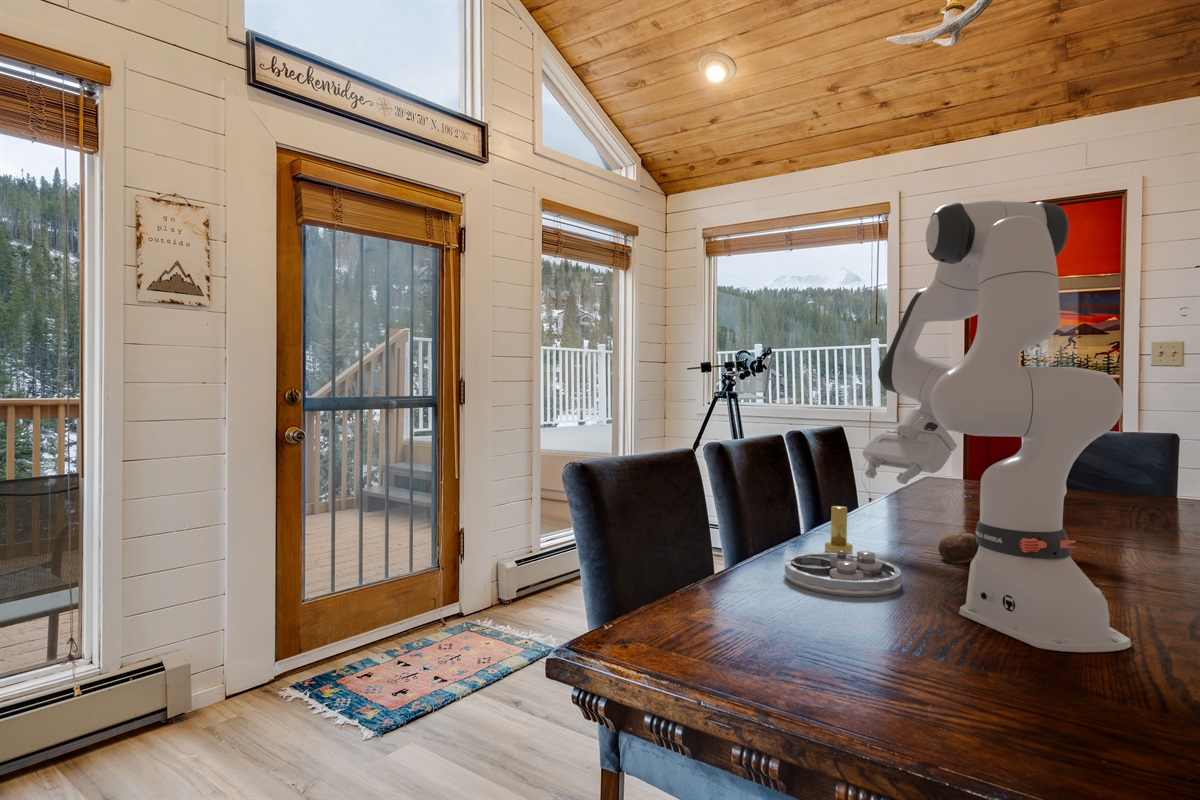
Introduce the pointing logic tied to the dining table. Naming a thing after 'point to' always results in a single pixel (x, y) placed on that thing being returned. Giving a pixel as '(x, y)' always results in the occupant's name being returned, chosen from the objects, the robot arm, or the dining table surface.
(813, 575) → the carrier
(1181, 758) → the dining table surface
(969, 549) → the brown rounded lump
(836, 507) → the yellow peg
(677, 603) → the dining table surface
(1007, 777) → the dining table surface
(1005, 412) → the robot arm
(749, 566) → the dining table surface
